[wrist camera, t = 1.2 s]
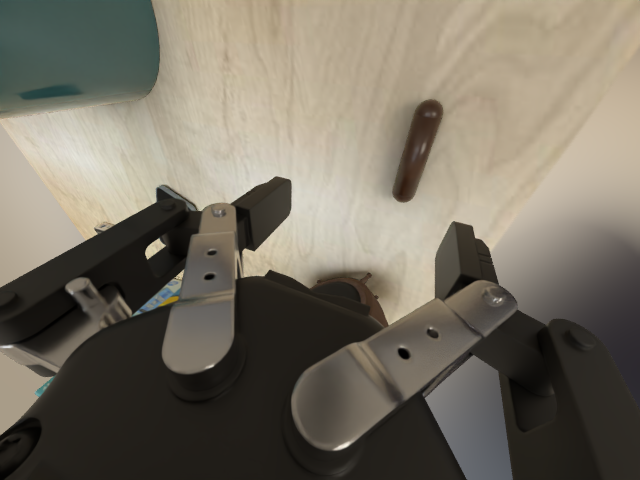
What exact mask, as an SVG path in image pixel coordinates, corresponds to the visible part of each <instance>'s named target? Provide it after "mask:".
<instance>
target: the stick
mask: <svg viewBox="0 0 640 480" xmlns="http://www.w3.org/2000/svg"><path fill="white" fill-rule="evenodd" d="M442 115H443V108H442V105H441V104H440V103H439V102H438V101H436V100H432V99H430V100H426V101H424V102H422V103H421V104H420V105H419V106H418V107H417V108H416V110H415V113H414V116H413V120H412V123H411V127H410V130H409V134H408V137H407V141H406V144H405V148H404V151H403V155H402V158H401V162H400V165H399V169H398V173H397V176H396V180H395V183H394V187H393V191H392V194H393V197H394V198H395V199H396V200H397V201H398V202H403V203H404V202H408V201H410V200H411V199H412V198H413V197H414V195H415V192H416V190H417V187H418V184H419V181H420V178H421V175H422V173H423V170H424V167H425V164H426V161H427V158H428V156H429V153H430V150H431V147H432V144H433V141H434V139H435V136H436V133H437V130H438V127H439V124H440V122H441V119H442Z"/></svg>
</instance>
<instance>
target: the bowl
mask: <svg viewBox="0 0 640 480" xmlns="http://www.w3.org/2000/svg"><path fill="white" fill-rule="evenodd" d="M159 60H160V59H159V39H158V31H157V25H156V20H155V15H154V12H153V8H152V4H151V0H0V119H8V118H15V117H22V116H29V115H36V114H43V113H51V112H58V111H65V110H72V109H79V108H87V107H94V106H101V105H108V104H115V103H123V102H130V101H136V100H140V99H142V98H144V97H145V96H146V95H147V94H149V93H150V91H151V90H152V88H153V87H154V84H155V82H156V79H157V75H158V70H159Z"/></svg>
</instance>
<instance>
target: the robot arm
mask: <svg viewBox="0 0 640 480" xmlns="http://www.w3.org/2000/svg"><path fill="white" fill-rule="evenodd" d="M291 187H292V185H291V181H290V180H289V179H285V178H281V177H277V176H276V177H274V178H273V179H271V180H270V181H269V182H267V183H264V184H261V185H258V186H256V187H254V188H253V189H251V191H248V192H247V193H246V194H244V195H243V196H241V197H240V198H238V199H237V200H235V201H234V202H232V203H231V204H228V203H215V204H211V205H209V206H207V207H205V208H204V209H203V210H202V211H192V210H188V207H187V204H186V202H185V201H184V200H182V199H176V198H172V199H165V200H161V201H158V202H156V203H154V204H152V205H151V206H149V207H147V208H145V209H143V210H141V211H140V212H138V213H136V214H134V215H132V216H130V217H129V218H127V219H125V220H123V221H121V222H120V223H118V224H116V225H114V226H112V227H110V228H109V229H107V230H105V231H103V232H101V233H99V234H98V235H96V236H94V237H92V238H90V239H88V240H87V241H85V242H83V243H81V244H79V245H78V246H76V247H74V248H72V249H70V250H68V251H67V252H65V253H63V254H61V255H59V256H58V257H55V258H54V259H52V260H50V261H48V262H46V263H45V264H43V265H41V266H39V267H37V268H36V269H33V270H32V271H30V272H28V273H26V274H24V275H23V276H21V277H19V278H17V279H15V280H13V281H12V282H10V283H8V284H6V285H4V286H2V287H1V288H0V351H1V352H2V353H4V354H5V355H7V356H8V357H9V358H11V359H13V360H14V361H15V362H17V363H19V364H21V365H25V366H27V367H28V368H29V369H31V370H32V371H34V372H35V373H37V374H39V375H40V376H43V377H51V376H55V377H54V379H53V380H52V382H51V383H50V384H49V386H48V387H47V388H46V390H45V391H44V392H43V393H42V395H41V396H40V397H39V398H38V399H37V401H36V402H35V403H34V404H33V405H32V406H31V407H30V408H29V410H28V411H27V412H26V413H25V414H24V415H23V416H22V417H21V418H20V419H19V420H18V421H17V422H16V423H15V424H14V425H13V426H11V427H10V428H9V429H8V430H7V431H5V432H4V433H3V434H2V435H0V480H467V479H466V477H465V475H464V473H463V472H462V470H461V468H460V466H459V464H458V462H457V460H456V458H455V456H454V454H453V452H452V450H451V449H450V447H449V445H448V443H447V441H446V439H445V437H444V435H443V433H442V431H441V429H440V427H439V425H438V423H437V421H436V420H435V418H434V416H433V414H432V412H431V410H430V408H429V406H428V404H427V402H426V400H425V397H426V396H428V395H429V394H430V393H431V392H432V391H433V390H434V389H435V388H436V387H437V386H438V385H439V384H440V383H441V382H442V381H444V380H445V379H446V378H447V377H448V376H449V375H450V374H452V373H453V372H454V371H455V370H456V369H458V368H459V367H460V366H461V365H462V364H463V363H464V362H466V361H467V360H468V359H469V358H470V357H471V356H473V355H475V356H476V357H478V358H479V359H481V360H482V361H484V362H485V363H487V364H489V365H490V366H492V367H493V368H495V369H496V370H498V371H499V380H500V387H501V394H502V402H503V409H504V417H505V424H506V432H507V439H508V447H509V454H510V461H511V469H512V476H513V480H640V410H639V408H638V406H637V404H636V402H635V400H634V399H633V397H632V395H631V393H630V391H629V389H628V387H627V385H626V383H625V382H624V379H623V378H622V376H621V374H620V372H619V370H618V368H617V366H616V364H615V362H614V361H613V359H612V357H611V355H610V353H609V351H608V349H607V348H606V346H605V345H604V344H603V343H602V342H601V341H600V340H599V339H598V338H597V337H596V336H595V335H594V334H592V333H591V332H590V331H588V330H587V329H585V328H584V327H582V326H580V325H578V324H576V323H574V322H571V321H568V320H565V319H553V320H551V321H550V322H549V323H548V324H546V325H545V324H543V323H541V322H539V321H537V320H535V319H534V318H532V317H530V316H528V315H526V314H524V313H522V312H521V311H519V310H518V305H517V302H516V300H515V298H514V297H513V296H512V295H511V293H509V292H508V291H507V290H505V289H504V288H503V287H501V286H499V283H498V280H497V276H496V273H495V269H494V265H492V264H493V262H492V258H491V255H490V251H489V248H488V247H487V246H486V245H485V243H484V242H483V241H482V240H480V239H476V238H475V236H474V231H473V227H472V226H471V225H467V224H463V223H459V222H455V221H453V222H452V223H451V225H450V227H449V229H448V231H447V233H446V235H445V237H444V238H443V240H442V242H441V244H440V246H439V248H438V251H437V254H436V258H435V299H433V300H431V301H430V302H428V303H426V304H425V305H423V306H421V307H420V308H418V309H416V310H415V311H413V312H411V313H410V314H408V315H406V316H404V317H403V318H401V319H399V320H398V321H396V322H394V323H393V324H391V325H389V326H388V327H386V328H385V327H384V326H383V325H382V324H381V323H380V322H378V321H377V320H376V319H375V318H373V317H372V316H370V315H369V311H370V308H371V306H369V305H366V304H363V303H361V302H358V301H355V300H352V299H349V298H347V297H344V296H337V295H330V294H323V293H316V292H314V291H312V290H310V289H309V288H307V287H306V286H304V285H303V284H301V283H299V282H298V281H296V280H295V279H293V278H291V277H288V276H285V275H283V274H280V273H277V272H274V271H272V270H269V271H268V273H267V274H266V275H265V276H264V277H263V276H250V277H244V265H243V253H242V251H243V250H244V249H245V248H246V249H249V250H252V251H255V250H256V249H257V248H258V247H259V246H260V245H261V244H262V243H263V242H264V241H265V240H266V239H267V238H268V237H269V236H270V235H271V234H272V233H273V232H274V230H275V229H276V228H277V227H278V226H279V225H280V224H281V223H282V222H283V221H284V220H285V219H286V218H287V217H288V216H289V214H290V211H291ZM161 236H162V237H163V240H164V242H165V245H166V246H165V247H164V248H163V249H161V250H160V251H159V252H157V253H156V254H155V255H153V256H152V257H151V258H149V259H148V260H147V258H146V256H145V251H146V248H147V247H148V246H149V245H150V244H151V243H152V242H154V241H155V240H157V239H158V238H160V237H161ZM182 270H184V274H183V279H182V283H181V288H180V293H179V298H178V300H177V301H174V302H171V303H169V304H166V305H163V306H160V307H157V308H155V309H152V310H149V311H146V312H143V313H141V314H138V315H135V316H132V315H133V314H135V313H136V312H137V311H138V310H139V309H140V308H141V307H142V306H143V305H145V304H146V303H147V302H148V301H149V300H150V299H151V298H152V297H153V296H155V295H156V294H157V293H158V292H159V291H160V290H161V289H162V288H164V287H165V286H166V285H167V284H168V283H169V282H170V281H171V280H172V279H174V278H175V277H176V276H177V275H178V274H179V273H180V272H181V271H182ZM131 316H132V317H131Z"/></svg>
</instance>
